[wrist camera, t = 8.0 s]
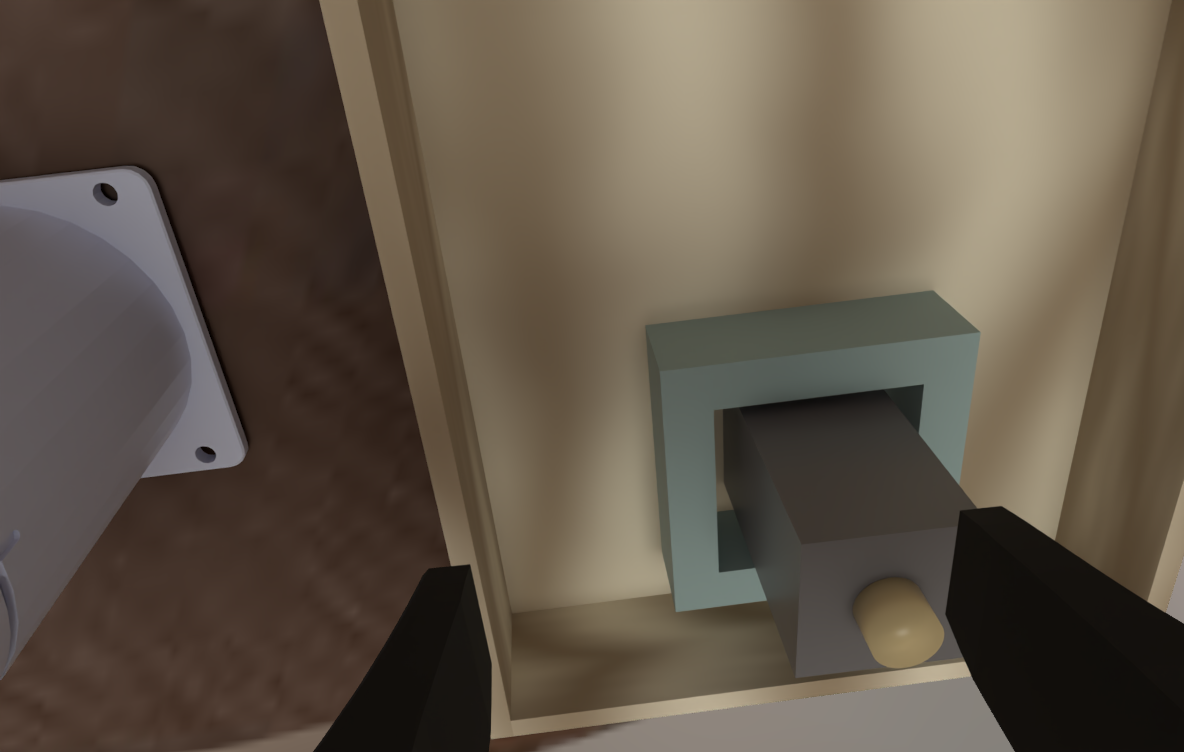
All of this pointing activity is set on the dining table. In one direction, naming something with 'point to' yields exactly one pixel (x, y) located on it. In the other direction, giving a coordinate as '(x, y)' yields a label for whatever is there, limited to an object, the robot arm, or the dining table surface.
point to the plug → (846, 529)
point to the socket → (784, 373)
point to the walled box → (760, 283)
